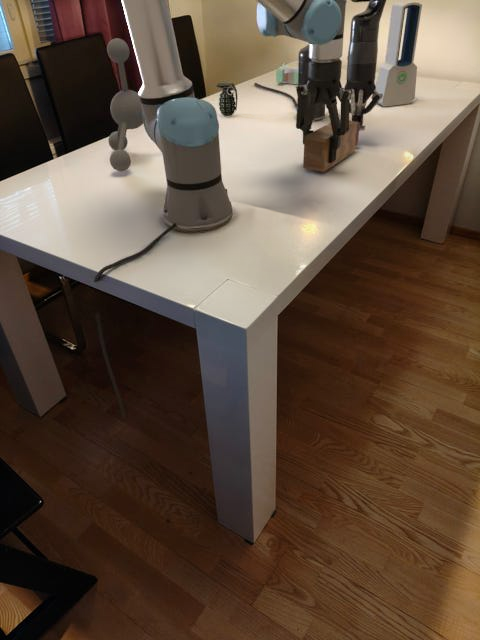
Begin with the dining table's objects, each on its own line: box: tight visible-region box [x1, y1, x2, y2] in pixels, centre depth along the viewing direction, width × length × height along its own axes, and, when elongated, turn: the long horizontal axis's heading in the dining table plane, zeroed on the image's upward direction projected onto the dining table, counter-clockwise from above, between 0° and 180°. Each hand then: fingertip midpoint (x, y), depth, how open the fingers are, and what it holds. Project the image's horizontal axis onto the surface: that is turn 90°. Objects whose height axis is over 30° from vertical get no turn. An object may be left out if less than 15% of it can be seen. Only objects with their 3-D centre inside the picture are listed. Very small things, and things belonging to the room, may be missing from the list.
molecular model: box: [106, 37, 144, 172], centre depth 131 cm, size 24×22×30 cm
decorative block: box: [275, 59, 299, 85], centre depth 205 cm, size 26×6×20 cm
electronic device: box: [375, 0, 423, 108], centre depth 163 cm, size 12×8×30 cm, turn 105°
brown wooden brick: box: [302, 120, 358, 173], centre depth 128 cm, size 19×6×8 cm, turn 146°
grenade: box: [215, 82, 238, 117], centre depth 166 cm, size 7×6×10 cm
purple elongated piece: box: [355, 122, 366, 147], centre depth 132 cm, size 24×5×6 cm, turn 146°
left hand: (320, 159), depth 125 cm, fingers closed on brown wooden brick, 6 cm apart
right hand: (356, 128), depth 138 cm, fingers closed
